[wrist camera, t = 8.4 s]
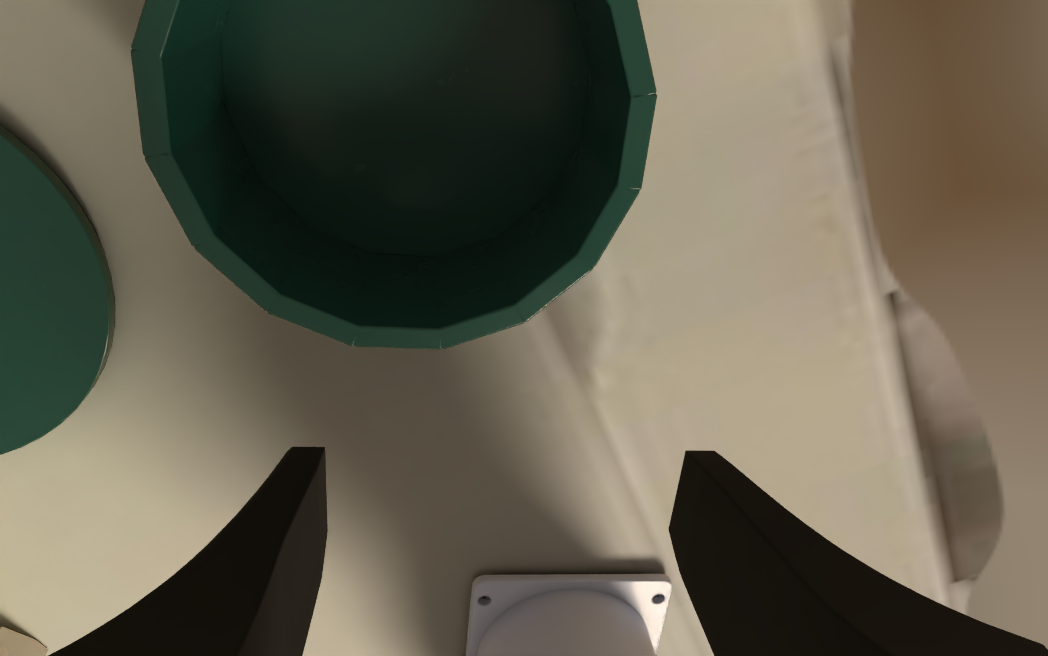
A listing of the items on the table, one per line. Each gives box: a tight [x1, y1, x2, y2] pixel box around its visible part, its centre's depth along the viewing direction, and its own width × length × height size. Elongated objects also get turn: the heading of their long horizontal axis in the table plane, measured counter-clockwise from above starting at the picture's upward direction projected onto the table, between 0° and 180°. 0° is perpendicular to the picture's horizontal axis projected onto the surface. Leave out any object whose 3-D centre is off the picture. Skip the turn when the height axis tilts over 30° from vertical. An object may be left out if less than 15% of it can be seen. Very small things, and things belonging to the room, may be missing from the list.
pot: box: [131, 0, 657, 349], centre depth 19 cm, size 11×11×6 cm
